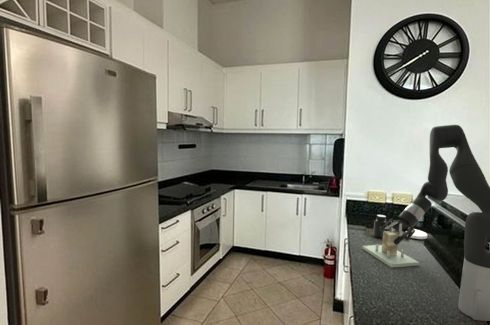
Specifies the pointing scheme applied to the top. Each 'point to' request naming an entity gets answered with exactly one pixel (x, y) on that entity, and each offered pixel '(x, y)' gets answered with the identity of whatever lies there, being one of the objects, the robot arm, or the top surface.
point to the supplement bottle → (379, 225)
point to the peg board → (391, 257)
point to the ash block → (389, 242)
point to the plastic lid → (419, 234)
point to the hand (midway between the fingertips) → (388, 239)
